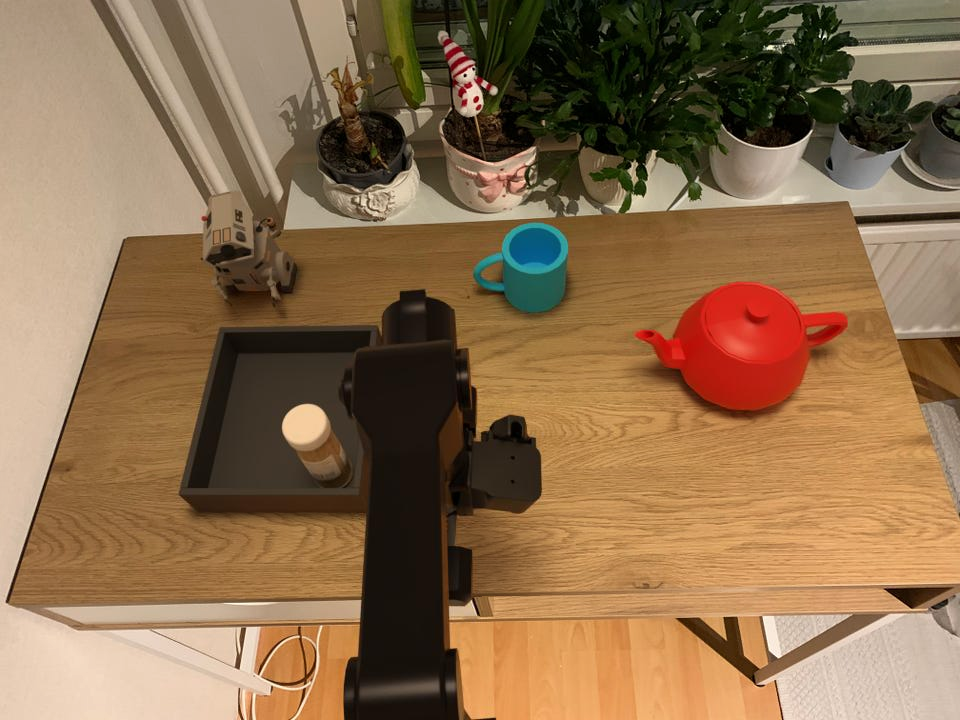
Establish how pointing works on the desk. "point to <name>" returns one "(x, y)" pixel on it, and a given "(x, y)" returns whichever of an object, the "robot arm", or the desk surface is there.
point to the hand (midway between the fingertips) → (446, 519)
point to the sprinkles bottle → (317, 446)
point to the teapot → (744, 345)
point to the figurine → (243, 248)
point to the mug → (530, 267)
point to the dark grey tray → (273, 420)
